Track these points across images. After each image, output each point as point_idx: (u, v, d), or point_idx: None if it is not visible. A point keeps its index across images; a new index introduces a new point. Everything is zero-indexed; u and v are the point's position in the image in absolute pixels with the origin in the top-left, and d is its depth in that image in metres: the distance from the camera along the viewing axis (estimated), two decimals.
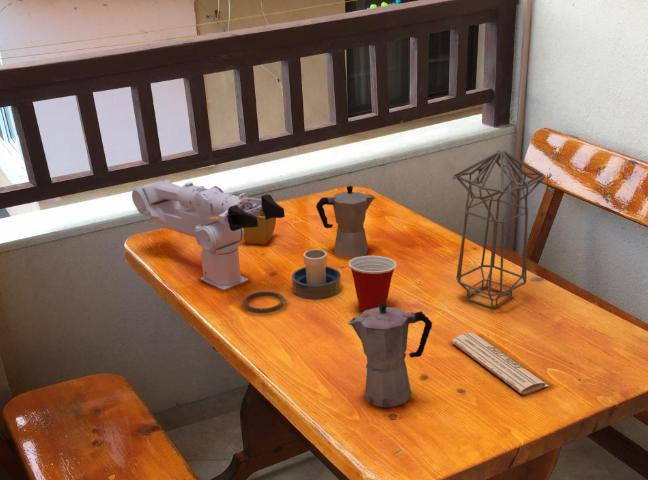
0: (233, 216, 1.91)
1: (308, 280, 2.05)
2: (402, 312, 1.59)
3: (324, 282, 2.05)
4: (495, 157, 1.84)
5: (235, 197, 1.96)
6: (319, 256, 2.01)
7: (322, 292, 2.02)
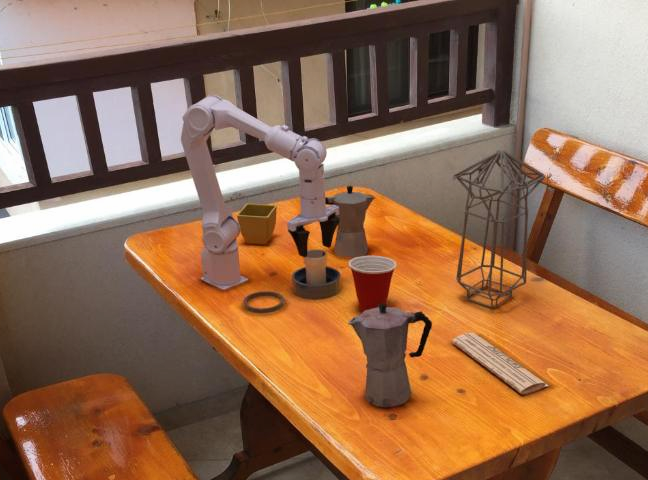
0: None
1: (308, 280, 2.05)
2: (402, 312, 1.59)
3: (324, 282, 2.05)
4: (495, 157, 1.84)
5: (320, 207, 1.95)
6: (319, 256, 2.01)
7: (322, 292, 2.02)
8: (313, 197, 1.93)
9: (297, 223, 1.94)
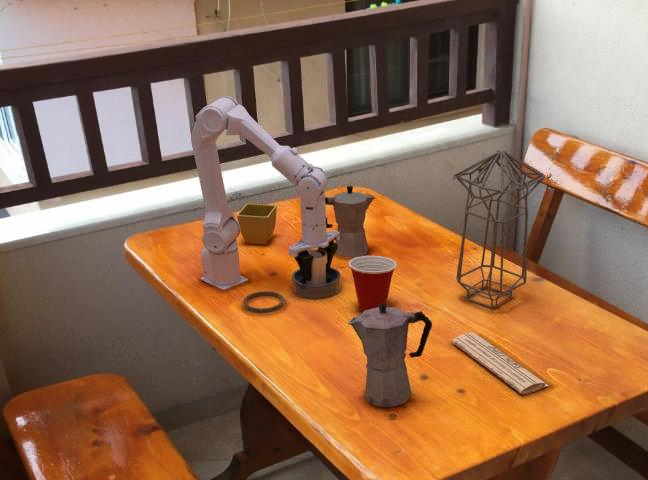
0: None
1: None
2: (402, 312, 1.59)
3: (324, 282, 2.05)
4: (495, 157, 1.84)
5: (321, 233, 1.98)
6: (319, 256, 2.02)
7: (322, 292, 2.02)
8: (314, 224, 1.96)
9: (298, 249, 1.97)
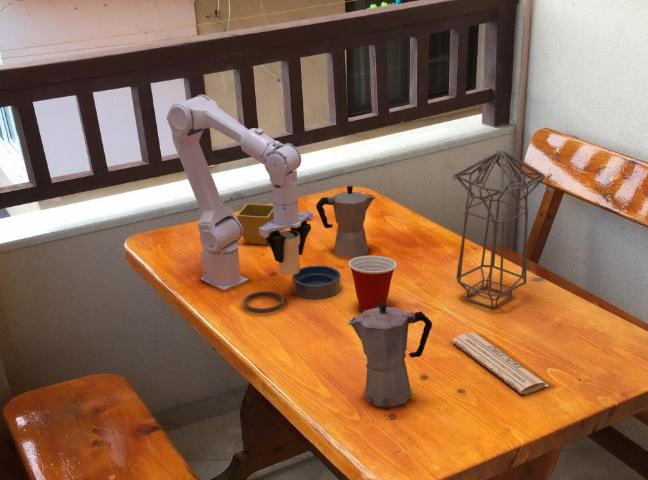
0: None
1: None
2: (402, 312, 1.59)
3: (297, 264, 1.99)
4: (495, 157, 1.84)
5: (293, 213, 1.91)
6: (291, 237, 1.95)
7: (322, 292, 2.02)
8: (282, 203, 1.89)
9: (269, 229, 1.90)
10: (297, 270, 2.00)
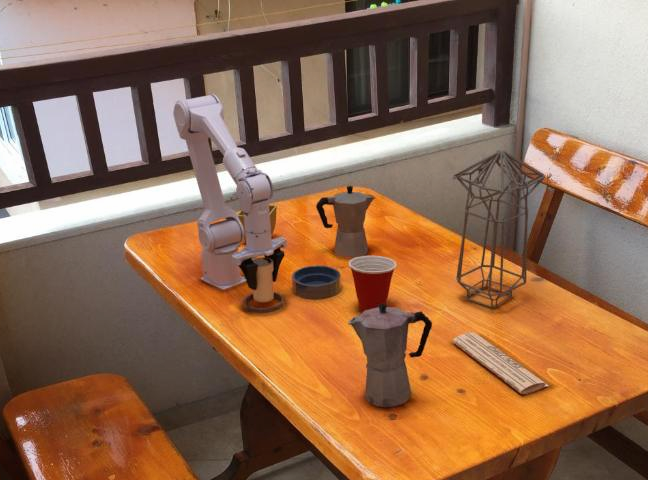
0: None
1: None
2: (402, 312, 1.59)
3: (271, 291, 1.98)
4: (495, 157, 1.84)
5: (265, 241, 1.91)
6: (264, 264, 1.94)
7: (322, 292, 2.02)
8: (250, 230, 1.89)
9: (242, 257, 1.90)
10: (270, 297, 1.99)
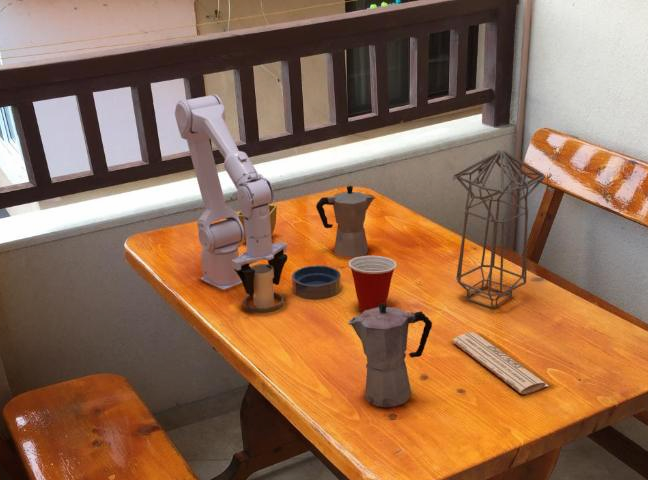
0: None
1: (254, 295, 1.98)
2: (402, 312, 1.59)
3: (271, 298, 1.99)
4: (495, 157, 1.84)
5: (266, 245, 1.91)
6: (265, 271, 1.95)
7: (322, 292, 2.02)
8: (250, 235, 1.90)
9: (242, 262, 1.90)
10: (271, 304, 2.00)
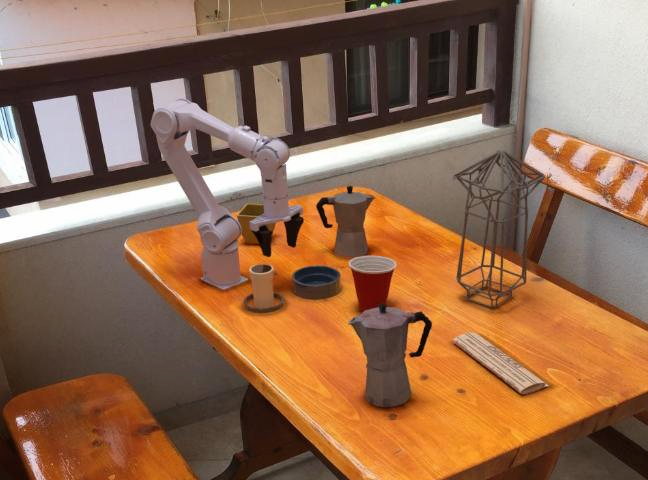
0: None
1: (254, 295, 1.98)
2: (402, 312, 1.59)
3: (271, 298, 1.99)
4: (495, 157, 1.84)
5: (283, 207, 1.95)
6: (265, 271, 1.95)
7: (322, 292, 2.02)
8: (274, 197, 1.93)
9: (260, 223, 1.94)
10: (271, 304, 2.00)
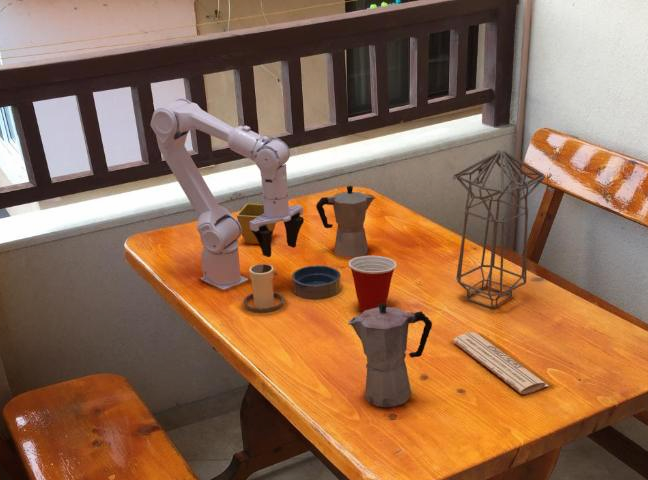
0: None
1: (254, 295, 1.98)
2: (402, 312, 1.59)
3: (271, 298, 1.99)
4: (495, 157, 1.84)
5: (283, 207, 1.95)
6: (265, 271, 1.95)
7: (322, 292, 2.02)
8: (274, 197, 1.93)
9: (260, 223, 1.94)
10: (271, 304, 2.00)
